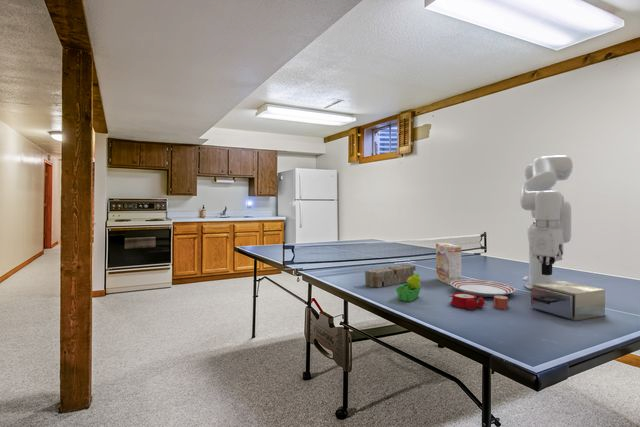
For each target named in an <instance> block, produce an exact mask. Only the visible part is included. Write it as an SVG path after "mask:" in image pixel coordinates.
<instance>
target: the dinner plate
mask: <svg viewBox="0 0 640 427" xmlns="http://www.w3.org/2000/svg"><path fill="white" fill-rule="evenodd" d="M450 284H451V285H450V286H451V287H452V288H453V289H455V290H457V291H459V292H464V293H471V294H474V295H476V297H482V298H494V296H507V295H511V294H514V293H515V292H516V291H517V290H516V288H515V287H514V286H511V285H509V284H507V283H506V284H505V283H503V282H498V281H492V280H486V279H485V280H484V279H483V280H482V279H461V280H455V281H452V282H451V283H450Z"/></svg>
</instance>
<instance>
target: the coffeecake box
mask: <svg viewBox="0 0 640 427" xmlns="http://www.w3.org/2000/svg"><path fill="white" fill-rule="evenodd" d="M435 271H436V272H435V279H436V280H438V281H440V282H442V283H444V284H445V285H448V286H451V284H450V283H451V282H452V281H455V280H462V246H460V245H457V244H452V243H448V242H437V243H435Z"/></svg>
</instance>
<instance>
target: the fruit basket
mask: <svg viewBox="0 0 640 427" xmlns="http://www.w3.org/2000/svg"><path fill="white" fill-rule="evenodd" d="M421 288H422V286H421V277H420V274H418V273H414V275H413V276H411V277H409V278H408V279H407V282H406V283H405V284H404V283H403V284H401V285H400V286H397V287H396V288H395V291H396V294H397V297H398V300H399V301H402V302H412V301H415V300H416V299H418V298H419V294H420V292H421Z"/></svg>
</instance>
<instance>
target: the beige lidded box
mask: <svg viewBox="0 0 640 427" xmlns="http://www.w3.org/2000/svg"><path fill="white" fill-rule="evenodd" d="M533 287H540V288H544V289H549V290H553V291H557V292H561V293H566V294H570V295H573V318H567V317H564V316H560V315H557V314H554V313H550V312H547V311H544V310H540V309H537V308H533V309H534V310H537V311H541V312H544V313H548V314H551V315H554V316H558V317H560V318H564V319H567V320H571V321H575V322H576V321H582V320H588V319H593V318H598V317H603V316H606V289H605V288H600V287H594V286H590V285H585V284H581V283H575V282H570V281H566V280H552V282H544V283H536V284H533Z"/></svg>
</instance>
